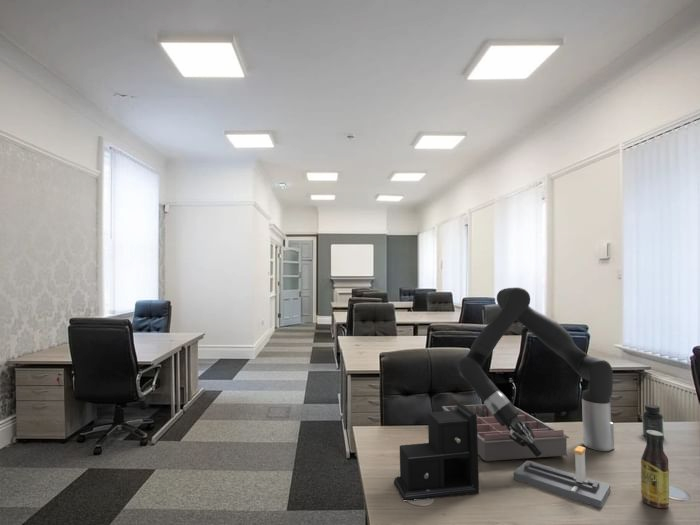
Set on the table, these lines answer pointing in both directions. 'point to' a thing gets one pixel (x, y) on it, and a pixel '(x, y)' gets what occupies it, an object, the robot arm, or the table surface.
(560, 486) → the grey slider track base
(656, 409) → the supplement bottle
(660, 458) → the sauce bottle
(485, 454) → the organizer tray
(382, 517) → the table surface
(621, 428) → the table surface
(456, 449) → the black drawer cabinet
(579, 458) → the fader tab
